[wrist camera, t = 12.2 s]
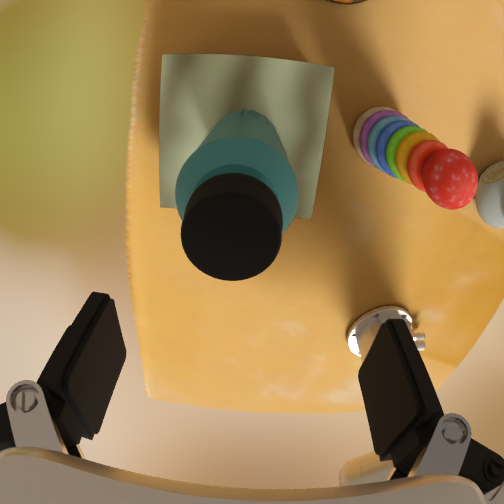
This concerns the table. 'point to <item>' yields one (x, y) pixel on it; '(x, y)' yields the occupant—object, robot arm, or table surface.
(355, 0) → the supplement container
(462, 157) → the stacking toy
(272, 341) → the table surface
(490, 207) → the grey flask
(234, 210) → the beverage bottle
